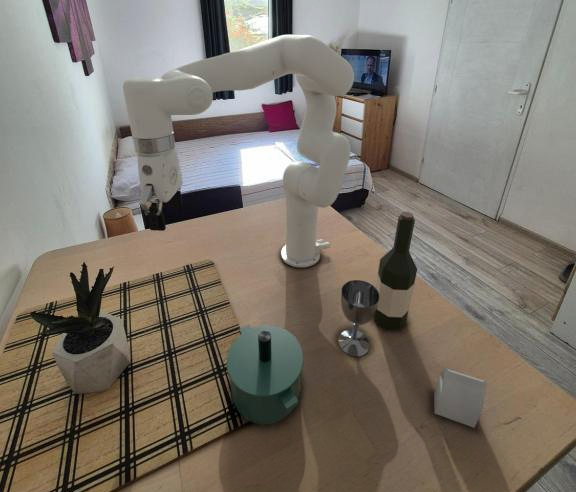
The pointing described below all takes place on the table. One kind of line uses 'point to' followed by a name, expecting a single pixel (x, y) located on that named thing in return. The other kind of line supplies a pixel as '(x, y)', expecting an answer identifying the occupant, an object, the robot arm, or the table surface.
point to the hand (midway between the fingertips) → (167, 217)
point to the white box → (459, 397)
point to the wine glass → (357, 315)
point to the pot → (265, 402)
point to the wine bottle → (396, 278)
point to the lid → (265, 361)
